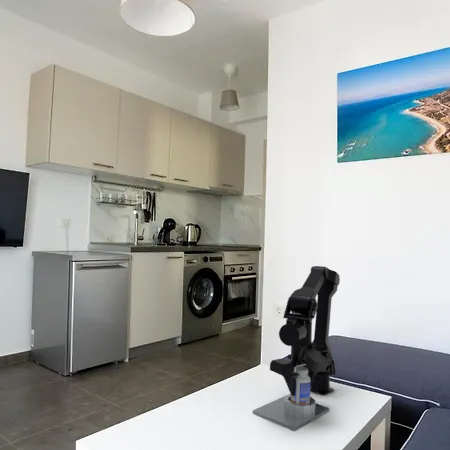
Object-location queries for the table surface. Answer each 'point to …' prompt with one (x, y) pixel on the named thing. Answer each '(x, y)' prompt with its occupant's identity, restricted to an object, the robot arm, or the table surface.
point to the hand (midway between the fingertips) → (300, 393)
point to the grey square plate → (291, 412)
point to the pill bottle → (302, 387)
